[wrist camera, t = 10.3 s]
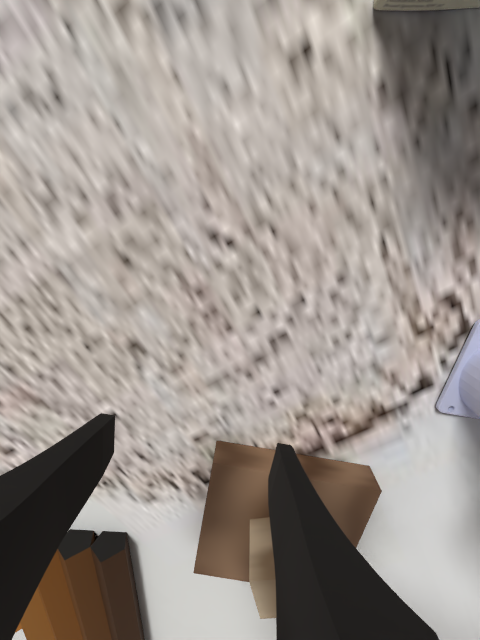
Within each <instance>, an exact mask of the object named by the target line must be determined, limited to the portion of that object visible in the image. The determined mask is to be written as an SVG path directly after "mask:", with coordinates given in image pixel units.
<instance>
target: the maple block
mask: <svg viewBox="0 0 480 640" xmlns="http://www.w3.org/2000/svg"><path fill="white" fill-rule="evenodd" d="M249 582H250V586H251V589H252V592H253V596H254V599H255V602H256V606H257V609H258V612H259V616H260V619H265V618H276V579H275V565H274V556H273V546H272V537H271V527H270V517H268V518H259V519H250V555H249Z"/></svg>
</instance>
